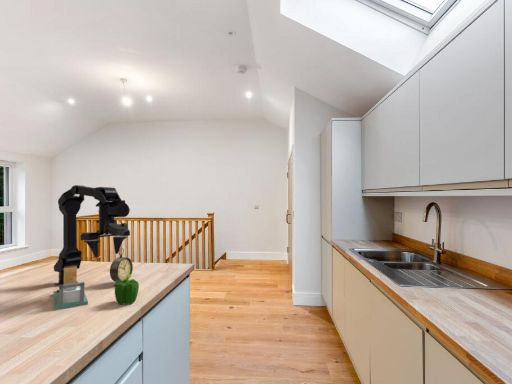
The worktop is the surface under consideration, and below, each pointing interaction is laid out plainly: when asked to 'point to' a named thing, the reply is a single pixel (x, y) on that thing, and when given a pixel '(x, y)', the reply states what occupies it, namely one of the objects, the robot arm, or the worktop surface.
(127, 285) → the bell pepper
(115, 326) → the worktop surface
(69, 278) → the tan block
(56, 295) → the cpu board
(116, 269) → the alarm clock
